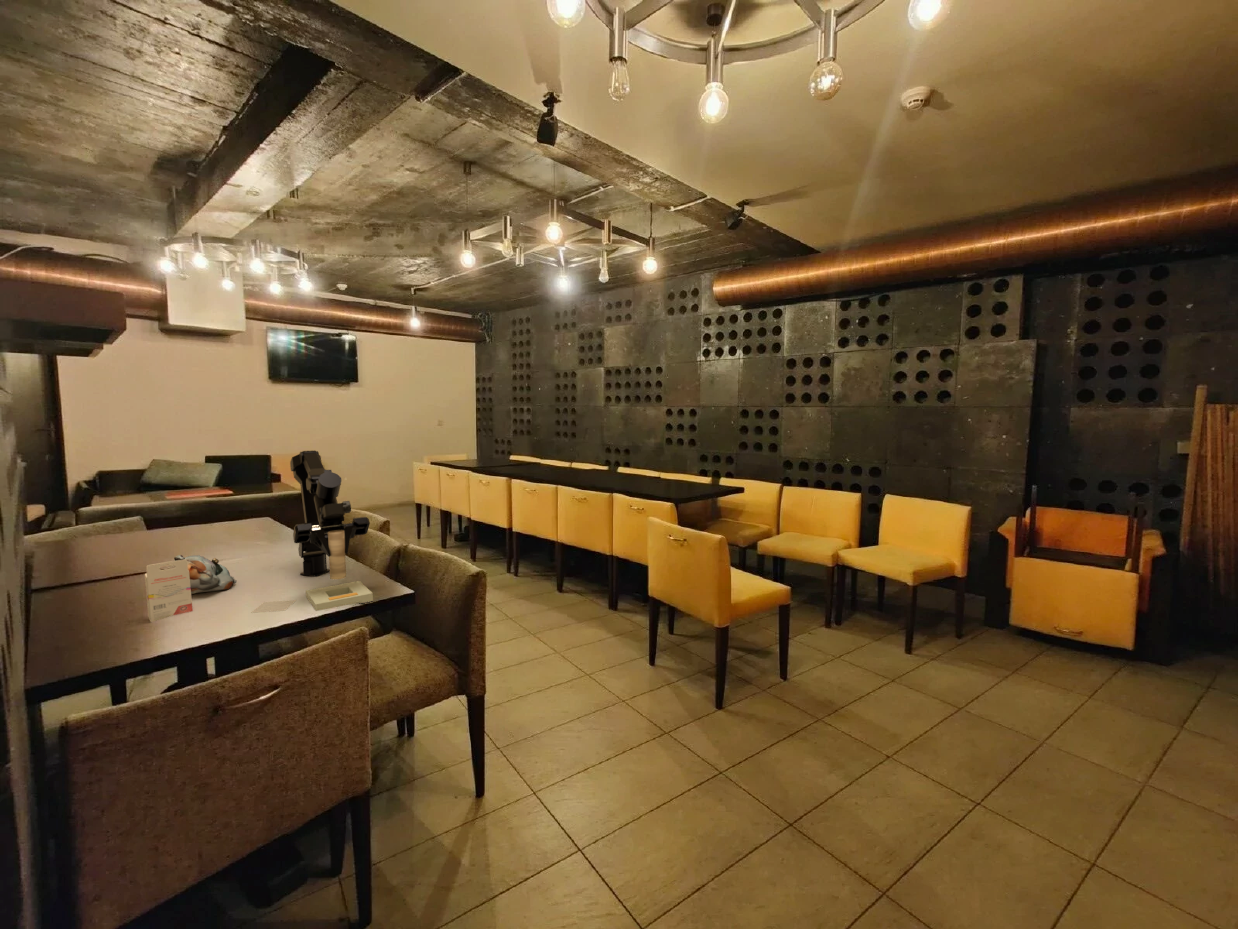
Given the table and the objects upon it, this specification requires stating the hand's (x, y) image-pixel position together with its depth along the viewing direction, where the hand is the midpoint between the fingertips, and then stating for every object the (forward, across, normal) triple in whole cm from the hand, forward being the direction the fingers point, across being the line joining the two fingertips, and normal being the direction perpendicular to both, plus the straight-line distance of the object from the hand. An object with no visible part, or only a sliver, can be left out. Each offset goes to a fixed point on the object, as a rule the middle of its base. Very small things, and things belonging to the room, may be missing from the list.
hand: (338, 554), depth 148 cm
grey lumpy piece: (-15, -28, +34) cm, 47 cm away
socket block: (+9, 0, +10) cm, 14 cm away
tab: (+6, -15, +13) cm, 21 cm away
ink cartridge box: (-2, -36, +21) cm, 42 cm away
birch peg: (+4, 0, +6) cm, 7 cm away
